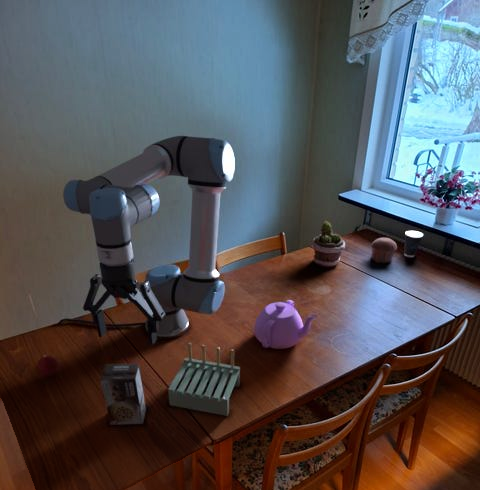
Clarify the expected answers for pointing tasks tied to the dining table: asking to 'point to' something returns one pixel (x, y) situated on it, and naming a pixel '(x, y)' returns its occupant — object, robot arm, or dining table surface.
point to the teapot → (281, 325)
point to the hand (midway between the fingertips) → (127, 338)
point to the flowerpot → (327, 247)
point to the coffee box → (123, 393)
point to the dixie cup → (412, 243)
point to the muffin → (383, 250)
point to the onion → (47, 365)
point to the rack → (204, 384)
